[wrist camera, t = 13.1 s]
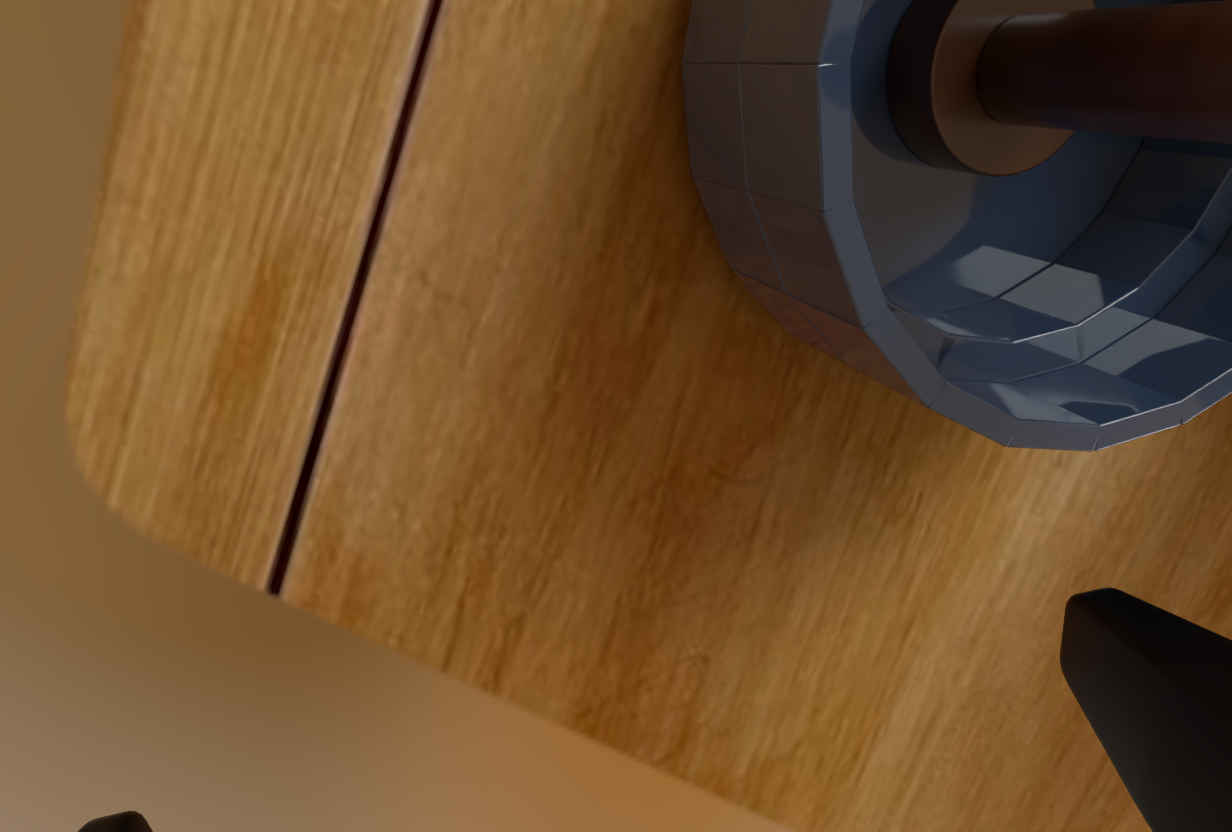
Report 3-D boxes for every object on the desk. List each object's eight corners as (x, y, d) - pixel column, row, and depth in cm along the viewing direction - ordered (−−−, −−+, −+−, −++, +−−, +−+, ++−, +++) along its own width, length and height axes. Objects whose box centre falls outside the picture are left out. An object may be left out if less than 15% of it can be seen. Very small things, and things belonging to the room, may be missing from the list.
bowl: (1087, 382, 26) (1292, 463, 21) (619, 339, 21) (734, 433, 16) (1280, -189, 22) (1600, -268, 17) (753, -414, 17) (972, -632, 12)
